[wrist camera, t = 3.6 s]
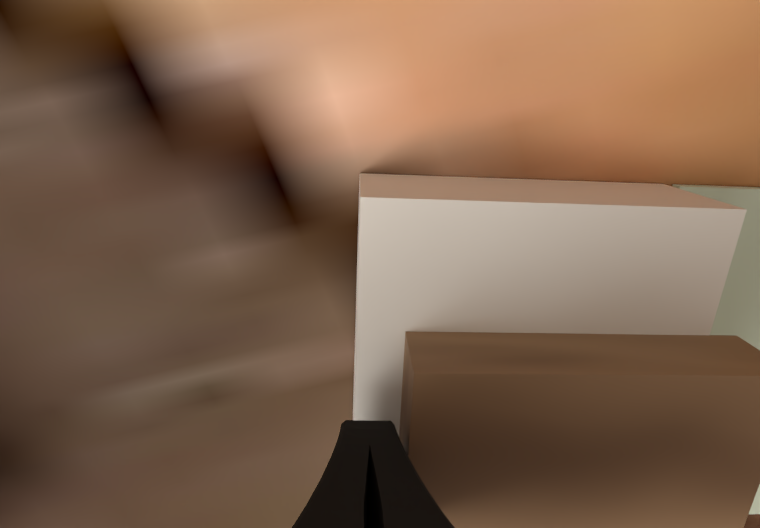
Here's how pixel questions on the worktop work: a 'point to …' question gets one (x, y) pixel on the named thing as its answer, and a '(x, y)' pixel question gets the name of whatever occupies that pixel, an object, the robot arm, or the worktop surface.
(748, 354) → the tile
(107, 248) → the worktop surface
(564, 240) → the white box
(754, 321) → the mat
